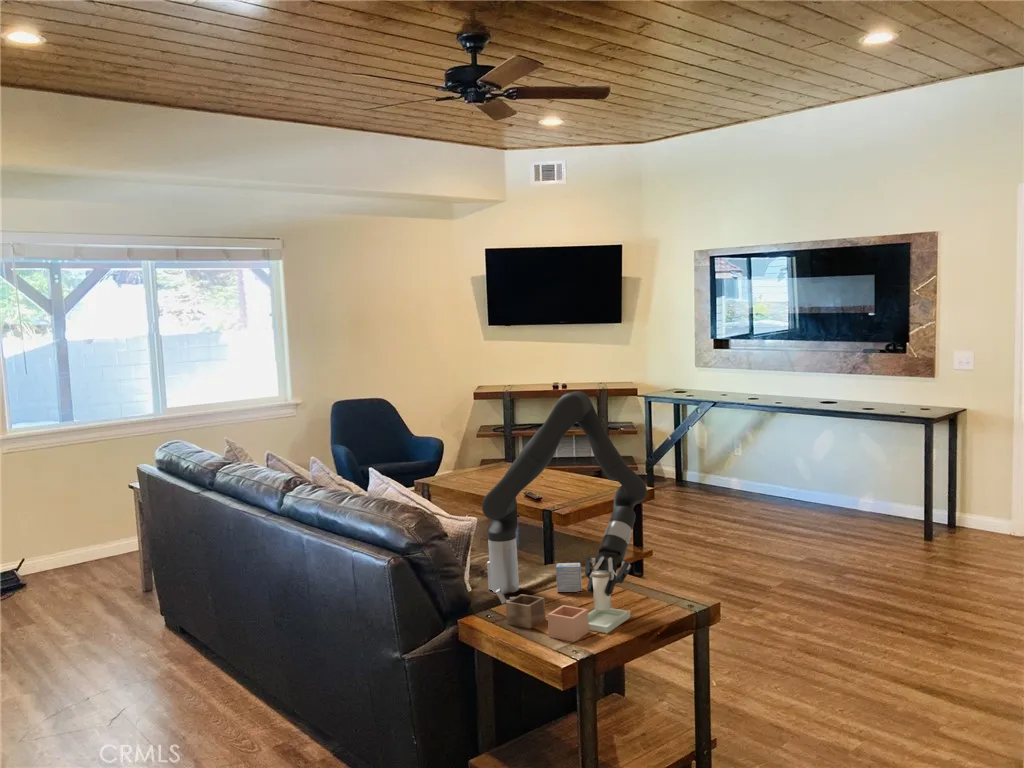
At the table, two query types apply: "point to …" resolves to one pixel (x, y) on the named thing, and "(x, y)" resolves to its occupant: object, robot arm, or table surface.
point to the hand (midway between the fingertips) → (598, 593)
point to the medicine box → (568, 577)
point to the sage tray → (606, 619)
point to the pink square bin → (568, 623)
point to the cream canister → (601, 589)
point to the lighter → (502, 596)
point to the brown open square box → (525, 611)
